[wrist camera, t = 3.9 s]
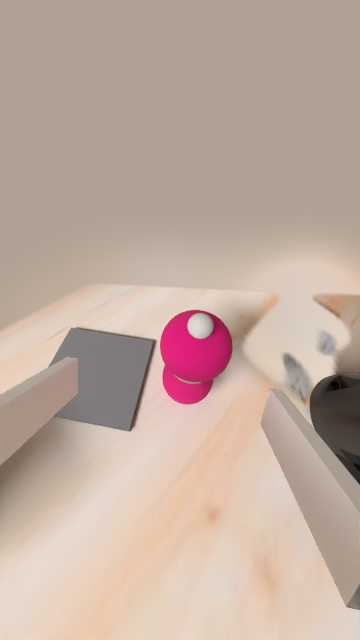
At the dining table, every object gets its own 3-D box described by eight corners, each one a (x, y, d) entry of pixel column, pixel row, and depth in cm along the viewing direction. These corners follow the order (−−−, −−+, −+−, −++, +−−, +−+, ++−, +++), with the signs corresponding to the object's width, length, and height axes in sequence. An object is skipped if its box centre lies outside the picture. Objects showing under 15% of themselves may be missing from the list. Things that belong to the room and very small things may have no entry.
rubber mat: (153, 342, 31) (153, 340, 31) (130, 431, 24) (128, 431, 23) (73, 329, 32) (71, 327, 32) (27, 410, 25) (23, 410, 24)
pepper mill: (166, 359, 30) (153, 275, 13) (206, 362, 30) (249, 280, 12) (162, 405, 26) (134, 373, 9) (208, 407, 26) (272, 381, 9)
